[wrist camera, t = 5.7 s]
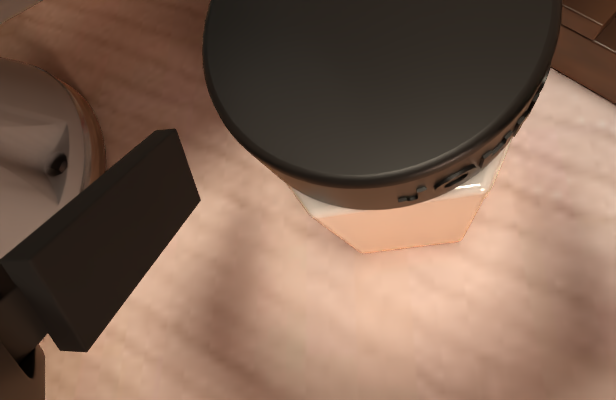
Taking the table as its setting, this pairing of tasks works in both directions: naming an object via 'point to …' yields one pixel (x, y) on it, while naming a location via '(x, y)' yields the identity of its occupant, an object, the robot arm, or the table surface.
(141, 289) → the table surface
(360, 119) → the jar
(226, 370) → the table surface
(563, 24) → the drying rack
